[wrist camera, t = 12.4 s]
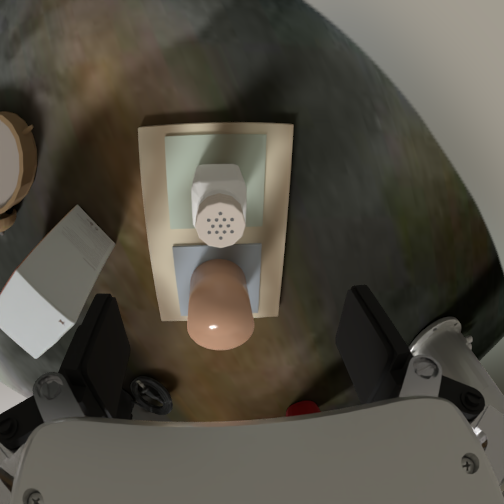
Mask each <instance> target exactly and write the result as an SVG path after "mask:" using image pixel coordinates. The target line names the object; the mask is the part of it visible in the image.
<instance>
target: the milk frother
mask: <svg viewBox="0 0 504 504" xmlns="http://www.w3.org/2000/svg"><path fill="white" fill-rule="evenodd" d="M139 384H140V386H141V387H142V388H143V390H142V393H145V394H147V395H148V396H150V397H151V398H154V399H155V400H158V401H159V402H160V403H163V406H154V405H152V404H150V403H148V402H147V401H145V400H144V399H143V397H142V396H141V395H140V393H139V391H138V385H139ZM130 388H131V392H132V394H133V396H134V397H135V399H136V400H137V401H138V402H139V403H137V402H134V400H133V398H132V397H131V396H130V394H128V393H127V392H126V391H124V390H123V389H122V390H121V394H120V399H119V404H118V409H117V414H116V418H115V419H126V420H132V414H131V412H132V408H133V407H134V404H136V405H138V406H140V407H142V408H144V409H145V410H148V411H150V412H152V413H155V414H158V415H166V414H168V413H169V412H170V411H171V410H172V406H173V404H172V399H171V396H170V394H169V392H168V391H167V390H166V388H165V387H164V386H163V385H162V384H161V383H159V382H158V381H156V380H154V379H152V378H150V377H146V376H140V377H137V378H135V379H134V380H133V382H132V383H131V385H130Z"/></svg>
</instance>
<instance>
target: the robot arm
mask: <svg viewBox="0 0 504 504" xmlns="http://www.w3.org/2000/svg"><path fill="white" fill-rule="evenodd" d="M460 332H461V323H460V322H459V321H458V319H456V318H455V317H445V318H442V319H439V320H437V321H435V322H434V323H432V324H431V325H429V326H428V327H426V328H425V329H424V330H423V331H422V332H421V333H420V334H419V335H418V336H417V337H416V338H415V339H414V340H413V342H412V343H411V345H410V346H409V348H408V346H407V345H406V343H405V341H404V340H403V338H402V337H401V335H400V334H399V332H398V331H397V329H396V328H395V326H394V325H393V323H392V322H391V320H390V318H389V317H388V315H387V314H386V313H385V311H384V310H383V308H382V307H381V305H380V304H379V302H378V301H377V299H376V298H375V296H374V295H373V293H372V292H371V291H370V289H369V288H368V286H367V285H357V286H352V288H351V289H350V290H348V292H347V296H346V300H345V304H344V308H343V312H342V316H341V320H340V323H339V327H338V331H337V334H336V345H337V347H338V350H339V352H340V354H341V357H342V359H343V361H344V364H345V366H346V368H347V371H348V373H349V375H350V378H351V380H352V383H353V385H354V387H355V390H356V392H357V395H358V397H359V399H360V402H361V404H362V405H358V406H353V407H347V408H342V409H337V410H331V411H325V412H319V413H312V414H305V415H297V416H289V417H280V418H270V419H259V420H245V421H226V422H161V421H142V420H126V419H115V418H116V414H117V409H118V404H119V399H120V394H121V390H122V385H123V381H124V376H125V372H126V368H127V363H128V359H129V355H130V345H129V342H128V338H127V335H126V332H125V329H124V325H123V322H122V319H121V315H120V312H119V308H118V304H117V301H116V298H115V297H112V296H111V294H96V295H95V297H94V299H93V301H92V304H91V306H90V308H89V310H88V312H87V314H86V316H85V318H84V320H83V322H82V325H80V326H79V327H78V328H77V330H76V332H75V335H74V337H73V339H72V341H71V344H70V346H69V348H68V351H67V353H66V355H65V358H64V360H63V362H62V365H61V367H60V370H59V372H58V373H56V372H48V373H45V374H43V375H42V376H40V377H39V378H38V379H37V380H36V381H35V383H34V385H33V396H31V397H30V398H28V399H26V400H25V401H23V402H21V403H19V404H17V405H16V406H14V407H12V408H10V409H9V410H7V411H5V412H3V413H2V414H0V504H504V492H501V489H500V485H502V484H503V483H504V396H503V395H502V393H501V392H500V390H499V389H498V387H497V386H496V384H495V383H494V381H493V380H492V378H491V377H490V376H489V374H488V373H487V371H486V370H485V369H484V367H483V366H482V364H481V363H480V362H479V360H478V359H477V358H476V356H475V355H474V353H473V352H472V351H471V348H472V346H471V343H470V342H472V340H473V339H472V336H467V337H465V338H464V336H463V335H462V334H461V333H460Z"/></svg>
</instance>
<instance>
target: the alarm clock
mask: <svg viewBox="0 0 504 504" xmlns="http://www.w3.org/2000/svg"><path fill="white" fill-rule="evenodd" d="M32 129H33V125H30V126H28V125H27V124H26V122H25V121H24V120H23V119H22V118H20V117H19V116H18V115H17V114H15V113H11V112H7V111H3V112H0V234H1V235H4V231H5V230H7V229H8V228H10V227H11V226H12V225H13V224H14V222H15V219H16V210H15V209H13V213H12V214H10V215H8V214H7V213H5V212H6V211H7V210H8V209H9V208H11V207H12V206H14V205H16V204H18V203H19V202H20V201H21V200H22V199H23V198H24V197H25V196H26V195H27V194H28V192H29V190H30V188H31V185H32V183H33V181H34V177H35V173H36V168H37V148H36V144H35V141H34V137H33V134H32V132H31V130H32Z"/></svg>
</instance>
